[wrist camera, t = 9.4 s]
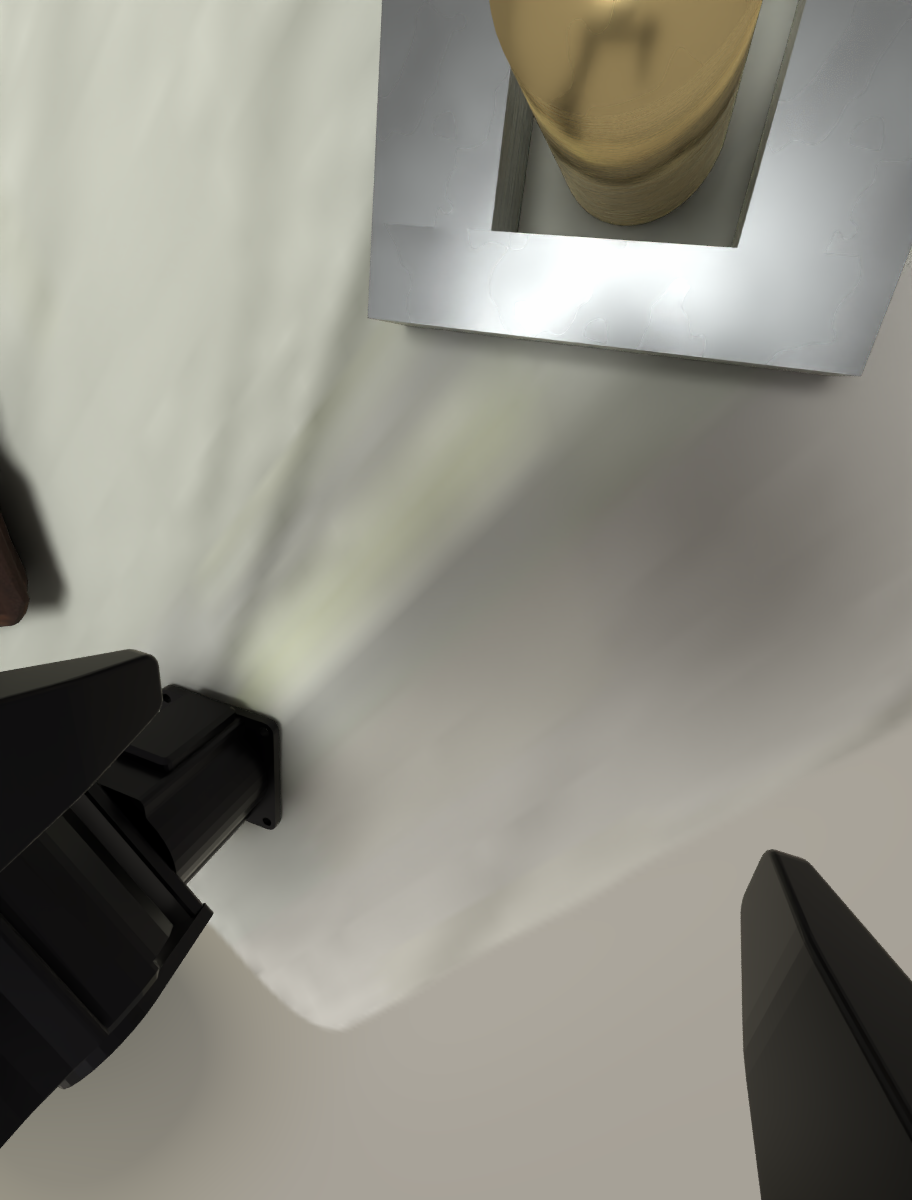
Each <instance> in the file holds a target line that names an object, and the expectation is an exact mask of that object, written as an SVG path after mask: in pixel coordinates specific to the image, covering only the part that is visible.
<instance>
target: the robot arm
mask: <svg viewBox="0 0 912 1200" xmlns="http://www.w3.org/2000/svg"><path fill="white" fill-rule="evenodd" d="M159 710H160V712H159ZM280 819H281V818H280V765H279V729H278V726H277V724H276V723H275V722H274V721H273V720H272V719H270V718H267V717H264V716H261V715H258V714H255V713H252V712H249V711H246V710H243V709H240V708H237V707H234V706H232V705H229V704H226V703H223V702H220V701H217V700H214V699H211V698H208V697H205V696H202V695H199V694H196V693H193V692H190V691H187V690H184V689H181V688H178V687H175V686H172V685H168V686H165V687H164V688H161V680H160V672H159V665H158V661H157V660H156V658H155V657H154V656H152V655H150V654H147V653H144V652H141V651H137V650H133V649H127V650H121V651H116V652H110V653H104V654H99V655H93V656H87V657H82V658H76V659H71V660H65V661H59V662H54V663H48V664H42V665H37V666H31V667H26V668H20V669H14V670H9V671H3V672H0V1148H1V1147H2V1146H3V1145H4V1144H5V1142H6V1141H7V1140H8V1139H9V1138H10V1137H11V1136H12V1135H13V1134H14V1132H15V1131H16V1130H17V1129H18V1128H19V1127H20V1125H21V1124H22V1123H23V1122H24V1121H25V1120H26V1119H27V1118H28V1117H29V1116H30V1114H31V1113H32V1112H33V1111H34V1110H35V1109H36V1108H37V1107H38V1106H39V1105H40V1104H41V1103H42V1102H43V1101H44V1100H45V1099H46V1098H47V1097H48V1096H49V1095H50V1094H51V1093H52V1092H53V1091H54V1090H55V1089H56V1088H57V1087H59V1088H61V1089H66V1088H69V1087H71V1086H73V1085H74V1084H76V1083H77V1082H79V1081H80V1080H82V1079H83V1078H85V1076H87V1075H88V1074H90V1073H91V1072H92V1071H93V1070H95V1068H97V1067H98V1066H99V1065H100V1064H101V1063H102V1062H103V1061H104V1060H105V1059H107V1058H108V1057H109V1056H110V1055H111V1054H112V1053H113V1052H114V1051H115V1050H116V1049H117V1048H118V1046H120V1045H121V1043H122V1042H123V1041H124V1040H125V1039H126V1038H127V1037H128V1036H129V1035H130V1033H131V1032H132V1031H133V1030H134V1029H135V1028H136V1027H137V1025H138V1024H139V1023H140V1022H141V1020H142V1019H143V1018H144V1017H145V1015H146V1014H147V1013H148V1011H149V1010H150V1009H151V1007H152V1006H153V1004H154V1003H155V1002H156V1000H157V999H158V997H159V996H160V994H161V992H162V991H163V989H164V988H165V986H166V984H167V983H168V982H169V980H170V979H171V977H172V976H173V974H174V973H175V971H176V970H177V968H178V967H179V965H180V964H181V962H182V961H183V959H184V958H185V956H186V955H187V953H188V952H189V950H190V948H191V947H192V945H193V944H194V942H195V941H196V939H197V938H198V936H199V935H200V933H201V932H202V930H203V929H204V927H205V926H206V924H207V923H208V921H209V920H210V918H211V917H212V915H213V911H212V910H211V909H210V908H209V907H208V906H207V904H206V903H203V904H202V903H201V902H200V900H199V899H198V898H197V897H196V896H195V895H194V893H193V892H192V891H191V890H190V889H189V888H188V886H187V885H186V884H187V883H188V882H189V881H190V880H191V879H192V878H193V877H194V876H195V875H196V874H197V872H198V871H199V870H200V869H201V868H202V867H203V866H204V865H205V864H206V863H207V862H208V861H209V860H210V858H211V857H212V856H213V855H214V854H215V853H216V852H217V851H218V850H219V849H220V848H221V847H222V846H223V845H224V843H225V842H226V841H227V840H228V839H229V838H230V837H231V836H232V835H233V834H234V833H235V832H236V831H237V830H238V828H239V827H240V826H241V825H242V824H243V823H244V822H245V821H248V822H251V823H253V824H256V825H258V826H261V827H263V828H266V829H269V830H272V829H274V828H275V827H276V826H277V825H278V824H279V822H280ZM741 965H742V967H741V968H742V1021H743V1022H742V1024H743V1052H744V1062H745V1072H746V1082H747V1090H748V1098H749V1106H750V1113H751V1121H752V1130H753V1138H754V1145H755V1154H756V1161H757V1169H758V1178H759V1185H760V1193H761V1200H912V981H911V980H910V978H909V977H908V976H907V975H906V974H905V973H904V972H903V970H902V969H901V968H900V967H899V966H898V965H897V963H895V961H894V960H893V959H892V958H891V956H890V955H889V954H888V953H887V952H886V951H885V950H884V948H883V947H882V946H881V945H880V944H879V943H878V942H877V940H876V939H875V938H874V937H873V936H872V934H871V933H870V932H869V931H868V930H867V929H866V928H865V927H864V925H863V924H862V923H861V922H860V921H859V919H858V918H857V917H856V916H855V915H854V914H853V912H852V911H851V910H850V909H849V908H848V907H847V905H846V904H845V903H844V902H843V901H842V900H841V899H840V897H839V896H838V895H837V894H836V893H835V892H834V890H833V889H832V888H831V887H830V886H829V885H828V883H827V882H826V881H825V880H824V879H823V878H822V877H821V875H820V874H819V873H818V872H817V871H816V870H815V868H814V867H813V866H812V865H811V864H810V863H809V862H808V861H806V860H805V859H803V858H800V857H796V856H793V855H790V854H787V853H784V852H780V851H778V850H773V849H771V850H767V851H766V852H765V853H764V854H763V855H762V857H761V859H760V861H759V864H758V866H757V868H756V870H755V872H754V874H753V877H752V879H751V881H750V883H749V885H748V887H747V889H746V892H745V894H744V897H743V900H742V905H741Z"/></svg>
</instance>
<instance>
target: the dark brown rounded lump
mask: <svg viewBox="0 0 912 1200" xmlns="http://www.w3.org/2000/svg"><path fill="white" fill-rule="evenodd" d="M27 587H28V579H27V576H26V572H25V569H24V567H23V564H22V562H21V560H20V558H19V556H18V554H17V552H16V550H15V548H14V546H13V543H12V541H11V539H10V537H9V533H8V529H7V527H6V524H5V522H4V519H3V517H2V515H1V512H0V627H3V626H12V625H15V624H17V623H19V622H20V620H21V619H22V618H23V616H24V615H25V613H26V611H27V607H28V604H29V600H30V598H29V596H28V593H27Z"/></svg>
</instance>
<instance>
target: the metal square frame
mask: <svg viewBox="0 0 912 1200" xmlns="http://www.w3.org/2000/svg"><path fill="white" fill-rule="evenodd" d="M533 115H534V114H533V112H532V110H531V108H530V106H529V104H528V102H527V100H526V98H525V96H524V94H523V92H522V89H521V87H520V85H519V83H518V81H517V79H516V77H515V75H514V73H513V71H512V69H511V67H510V65H509V63H508V61H507V58H506V56H505V54H504V52H503V50H502V47H501V45H500V42H499V39H498V37H497V34H496V31H495V27H494V23H493V19H492V15H491V10H490V2H489V0H382V17H381V39H380V61H379V83H378V105H377V127H376V149H375V171H374V193H373V215H372V236H371V258H370V280H369V302H368V318H370V319H375V320H380V321H385V322H391V323H396V324H401V325H406V326H415V327H423V328H431V329H440V330H448V331H456V332H465V333H473V334H482V335H490V336H498V337H507V338H515V339H524V340H532V341H540V342H549V343H557V344H566V345H574V346H582V347H591V348H599V349H607V350H616V351H624V352H633V353H641V354H649V355H658V356H666V357H675V358H683V359H691V360H700V361H708V362H717V363H725V364H733V365H742V366H750V367H758V368H767V369H775V370H784V371H792V372H800V373H809V374H817V375H826V376H861V375H862V372H863V370H864V367H865V365H866V362H867V360H868V357H869V354H870V352H871V349H872V347H873V344H874V341H875V339H876V336H877V334H878V331H879V329H880V326H881V323H882V321H883V318H884V316H885V313H886V311H887V308H888V305H889V303H890V300H891V298H892V295H893V293H894V290H895V287H896V285H897V282H898V280H899V277H900V274H901V272H902V269H903V267H904V264H905V262H906V259H907V256H908V254H909V251H910V249H911V246H912V0H799V2H798V5H797V9H796V13H795V16H794V20H793V24H792V27H791V31H790V34H789V38H788V42H787V45H786V49H785V53H784V56H783V60H782V64H781V67H780V71H779V75H778V78H777V82H776V86H775V89H774V93H773V97H772V100H771V104H770V107H769V111H768V115H767V118H766V122H765V126H764V129H763V133H762V137H761V140H760V144H759V148H758V151H757V155H756V159H755V162H754V166H753V170H752V173H751V177H750V180H749V184H748V188H747V191H746V195H745V199H744V202H743V206H742V210H741V213H740V217H739V221H738V224H737V228H736V232H735V235H734V239H733V243H732V246H731V248H730V247H716V246H701V245H687V244H672V243H658V242H644V241H629V240H615V239H600V238H586V237H572V236H557V235H543V234H528V233H517V232H518V224H519V217H520V210H521V202H522V195H523V188H524V181H525V173H526V166H527V159H528V151H529V144H530V137H531V129H532V122H533Z"/></svg>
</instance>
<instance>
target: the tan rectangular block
mask: <svg viewBox="0 0 912 1200" xmlns="http://www.w3.org/2000/svg"><path fill="white" fill-rule="evenodd" d="M489 2H490V10H491V15H492V19H493V23H494V27H495V31H496V34H497V37H498V39H499V42H500V45H501V47H502V50H503V52H504V54H505V56H506V58H507V61H508V63H509V65H510V67H511V69H512V71H513V73H514V75H515V77H516V79H517V81H518V83H519V85H520V87H521V89H522V92H523V94H524V96H525V98H526V100H527V102H528V104H529V106H530V108H531V110H532V112H533V114H534V116H535V118H536V120H537V123H538V125H539V127H540V129H541V131H542V133H543V135H544V137H545V139H546V141H547V143H548V145H549V147H550V149H551V151H552V154H553V156H554V158H555V160H556V162H557V164H558V166H559V168H560V170H561V172H562V174H563V176H564V178H565V180H566V182H567V185H568V187H569V189H570V190H571V192H572V194H573V196H574V197H575V199H576V200H577V201H578V203H579V204H580V205H581V206H582V207H583V208H584V209H585V210H586V211H587V212H588V213H590V214H591V215H592V216H594V217H595V218H597V219H599V220H601V221H604V222H607V223H610V224H614V225H621V226H631V225H639V224H644V223H647V222H651V221H654V220H656V219H658V218H660V217H663V216H665V215H666V214H668V213H670V212H671V211H673V210H675V209H676V208H677V207H678V206H680V205H681V204H682V203H684V202H685V201H686V200H687V199H688V198H689V197H690V196H691V195H692V194H693V193H694V192H695V191H696V190H697V189H698V187H699V186H700V185H701V184H702V183H703V181H704V180H705V178H706V177H707V175H708V174H709V172H710V171H711V169H712V167H713V165H714V164H715V162H716V160H717V158H718V155H719V153H720V151H721V148H722V146H723V143H724V140H725V136H726V133H727V129H728V126H729V122H730V118H731V115H732V111H733V107H734V104H735V100H736V96H737V93H738V89H739V85H740V82H741V78H742V74H743V70H744V67H745V63H746V59H747V56H748V52H749V48H750V45H751V41H752V37H753V34H754V30H755V26H756V23H757V19H758V15H759V11H760V8H761V4H762V0H489Z"/></svg>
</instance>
